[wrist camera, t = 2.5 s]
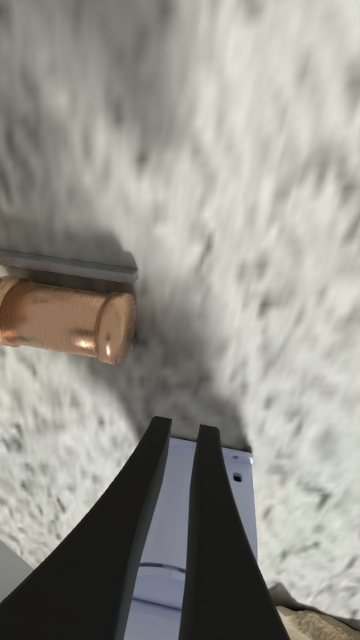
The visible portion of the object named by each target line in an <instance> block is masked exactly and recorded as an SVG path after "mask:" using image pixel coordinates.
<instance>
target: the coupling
mask: <svg viewBox="0 0 360 640" xmlns="http://www.w3.org/2000/svg"><path fill="white" fill-rule="evenodd" d="M135 326H136V303H135V299H134V297H133V295H132V294H127V293H120V292H111V293H110V294H105V293H99V292H92V291H86V290H79V289H72V288H66V287H59V286H53V285H46V284H40V283H34V282H33V281H32V280H30V279H27V278H21V277H15V276H4V277H1V278H0V345H5V346H11V347H18V346H21V345H24V346H30V347H36V348H42V349H47V350H53V351H59V352H65V353H70V354H76V355H82V356H88V357H94V358H98V360H99V361H100V362H103V363H108V364H114V365H121V364H122V363H123V362H124V360H125V359H126V357H127V355H128V353H129V351H130V348H131V345H132V341H133V337H134V333H135Z"/></svg>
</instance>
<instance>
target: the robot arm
mask: <svg viewBox="0 0 360 640" xmlns="http://www.w3.org/2000/svg"><path fill="white" fill-rule="evenodd" d="M171 424H172V419H169V418H164V417H159V416H155V417H153V418H152V420H151V422H150V425H149V426H148V428H147V430H146V432H145V434H144V436H143V437H142V439H141V441H140V442H139V444H138V446H137V447H136V449H135V450H134V452H133V453H132V455H131V456H130V458H129V459H128V461H127V462H126V464H125V465H124V467H123V468H122V469H121V471H120V472H119V474H118V475H117V476H116V478H115V479H114V480H113V482H112V483H111V484H110V485H109V487H108V488H107V489H106V491H105V492H104V493H103V495H102V496H101V497H100V498H99V500H98V501H97V502H96V503H95V505H94V506H93V507H92V508H91V509H90V511H89V512H88V513H87V514H86V515H85V516H84V518H83V519H82V520H81V521H80V522H79V523H78V524H77V526H76V527H75V528H74V529H73V530H72V531H71V532H70V533H69V534H68V535H67V537H66V538H65V539H64V540H63V541H62V542H61V543H60V544H59V545H58V546H57V547H56V548H55V550H54V551H53V552H52V553H51V554H50V555H49V556H48V557H47V558H46V559H45V560H44V561H43V562H42V563H41V564H40V565H39V566H38V567H37V568H36V569H35V570H34V571H33V572H32V573H31V574H30V575H29V576H28V577H27V578H26V579H25V580H24V581H23V582H22V583H21V584H20V585H19V586H18V587H17V588H16V589H14V590H13V592H11V594H9V595H8V597H6V598H5V599H4V600H3V601H2V602H1V603H0V640H291V639H290V637H289V635H288V633H287V630H286V628H285V626H284V624H283V622H282V620H281V617H280V615H279V613H278V611H277V609H276V606H275V604H274V602H273V600H272V598H271V595H270V593H269V591H268V588H267V586H266V584H265V581H264V579H263V576H262V574H261V572H260V569H259V567H258V564H257V531H256V518H255V504H254V491H253V478H252V462H253V455H252V454H251V453H249V452H244V451H239V450H233V449H228V448H223V447H221V441H220V433H219V429H218V428H217V427H212V426H206V425H201V424H200V428H199V433H198V438H197V442H192V441H187V440H182V439H177V438H172V437H170V432H171Z"/></svg>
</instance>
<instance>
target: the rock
mask: <svg viewBox="0 0 360 640" xmlns="http://www.w3.org/2000/svg"><path fill="white" fill-rule="evenodd" d="M276 609H277V611H278V613H279V615H280V617H281V620H282V622H283V624H284V626H285V628H286V630H287V633H288V635H289V637H290V639H291V640H360V632H359V631H358V630H354V629H351V628H350V627H349V626H347V625H345V624H343V623H342V622H339V621H338V620H336V619H334V618H332V617H330V616H327V615H323V614H320V613H318V612H315V611H311V610H303V611H292V610H290V609H287V608H285V607H283V606H276Z"/></svg>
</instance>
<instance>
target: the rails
mask: <svg viewBox="0 0 360 640" xmlns="http://www.w3.org/2000/svg"><path fill="white" fill-rule="evenodd" d="M0 264H1V265H8V266H14V267H21V268H28V269H35V270H41V271H48V272H55V273H62V274H68V275H75V276H82V277H89V278H95V279H102V280H109V281H116V282H122V283H129V284H134V283H135V281H136V280H137V279H138V269H132V268H125V267H118V266H111V265H104V264H97V263H90V262H83V261H76V260H70V259H63V258H56V257H49V256H42V255H35V254H28V253H21V252H14V251H7V250H0ZM136 343H137V336H134V337H133V341H132V345H131V348H130V350H131V351H133V349H134V347H135V345H136Z"/></svg>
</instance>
